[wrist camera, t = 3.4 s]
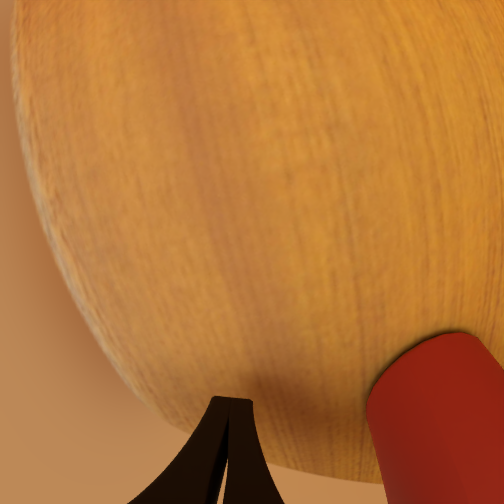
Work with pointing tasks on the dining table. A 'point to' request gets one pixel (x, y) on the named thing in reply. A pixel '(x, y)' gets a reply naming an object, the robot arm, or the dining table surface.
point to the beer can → (440, 424)
